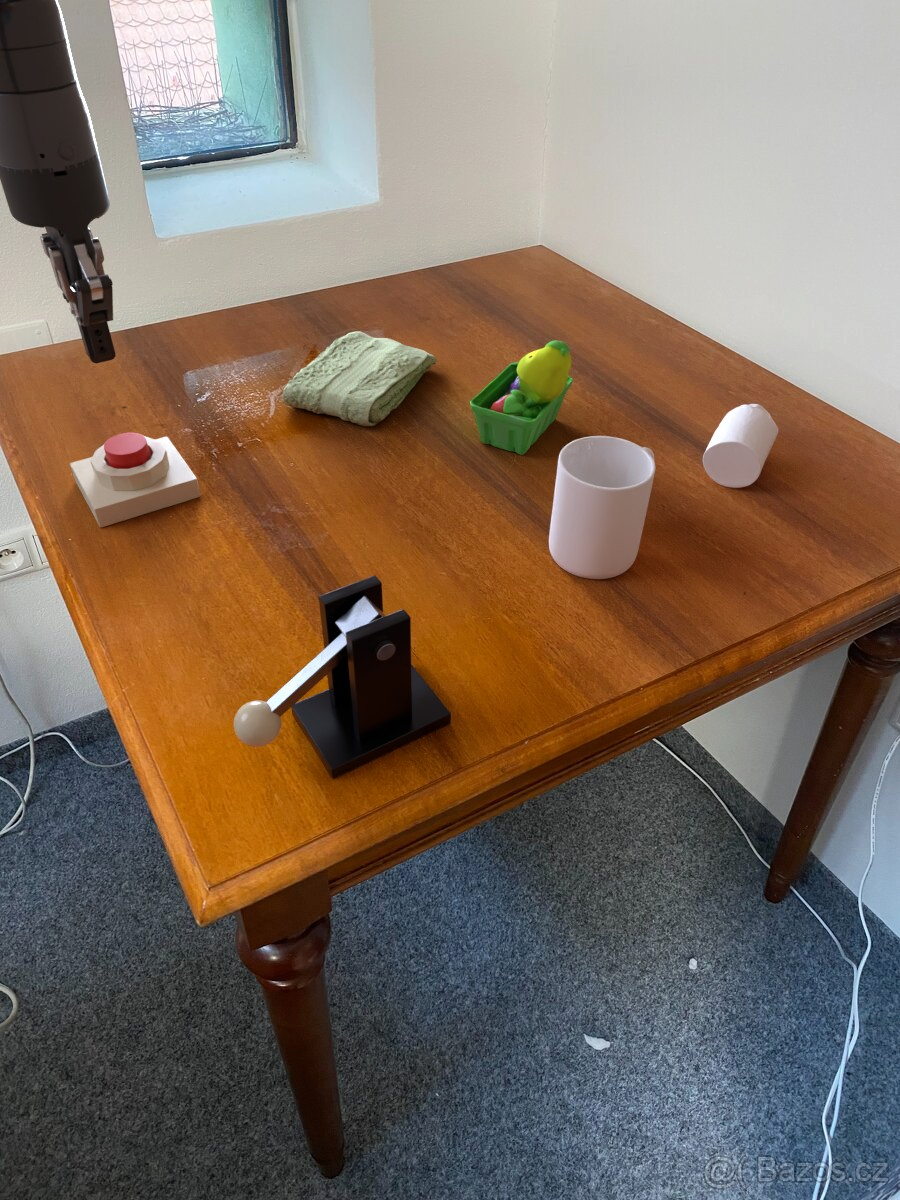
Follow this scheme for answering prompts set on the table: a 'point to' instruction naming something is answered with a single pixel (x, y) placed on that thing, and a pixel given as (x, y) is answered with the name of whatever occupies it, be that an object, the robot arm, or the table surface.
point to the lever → (300, 681)
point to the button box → (135, 483)
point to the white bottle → (740, 446)
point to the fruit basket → (523, 398)
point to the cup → (600, 505)
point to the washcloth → (358, 378)
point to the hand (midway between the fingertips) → (102, 358)
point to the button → (127, 450)
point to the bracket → (368, 688)
